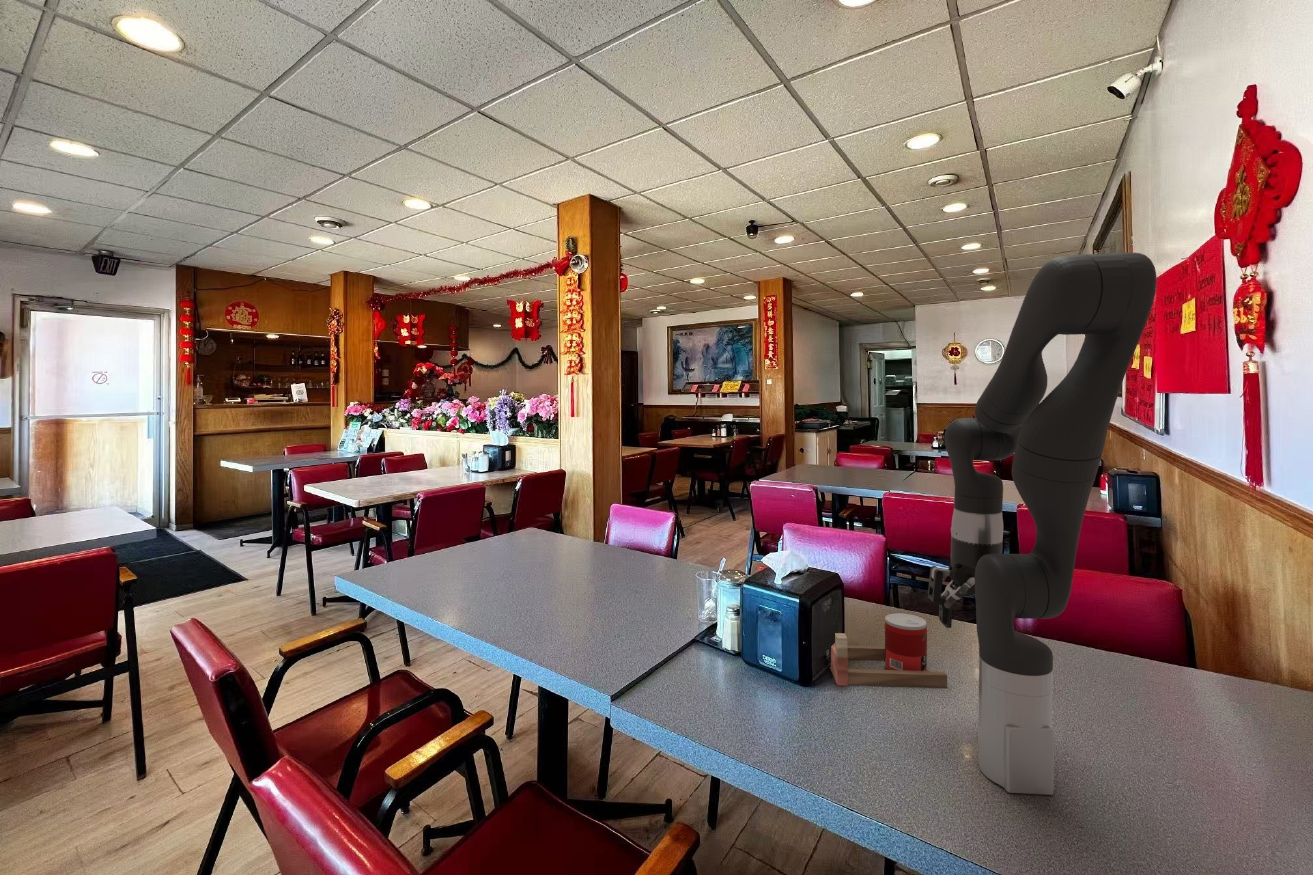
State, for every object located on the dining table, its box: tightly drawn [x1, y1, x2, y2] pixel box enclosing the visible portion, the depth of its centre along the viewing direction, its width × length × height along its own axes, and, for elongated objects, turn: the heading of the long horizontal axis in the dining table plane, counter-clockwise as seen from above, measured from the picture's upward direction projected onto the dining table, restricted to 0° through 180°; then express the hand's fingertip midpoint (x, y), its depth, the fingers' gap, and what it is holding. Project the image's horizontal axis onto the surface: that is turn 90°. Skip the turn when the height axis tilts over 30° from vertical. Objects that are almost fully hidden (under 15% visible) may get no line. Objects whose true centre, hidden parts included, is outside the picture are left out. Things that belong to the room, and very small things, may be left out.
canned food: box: [884, 612, 928, 671], centre depth 116 cm, size 8×8×11 cm
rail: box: [829, 632, 948, 689], centre depth 117 cm, size 14×21×10 cm, turn 84°
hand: (972, 626), depth 96 cm, fingers open, 8 cm apart
